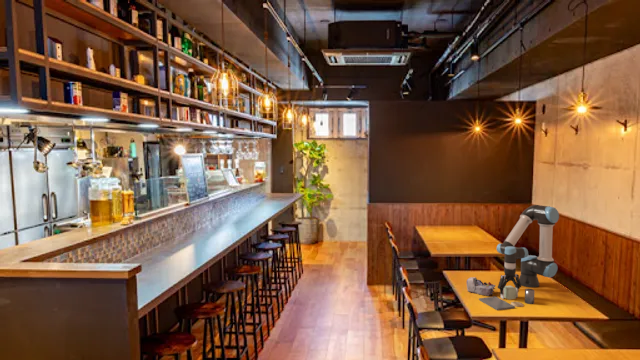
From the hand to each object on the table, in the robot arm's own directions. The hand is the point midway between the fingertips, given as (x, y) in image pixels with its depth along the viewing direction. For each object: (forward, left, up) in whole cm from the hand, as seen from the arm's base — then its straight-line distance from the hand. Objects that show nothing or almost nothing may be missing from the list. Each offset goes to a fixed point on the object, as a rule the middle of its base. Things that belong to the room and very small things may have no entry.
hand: (509, 297), depth 303 cm
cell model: (+13, -15, -1) cm, 20 cm away
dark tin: (-7, +12, 0) cm, 14 cm away
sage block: (0, 0, 0) cm, 0 cm away
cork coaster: (+4, +13, -1) cm, 14 cm away
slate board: (+17, +8, 0) cm, 19 cm away
